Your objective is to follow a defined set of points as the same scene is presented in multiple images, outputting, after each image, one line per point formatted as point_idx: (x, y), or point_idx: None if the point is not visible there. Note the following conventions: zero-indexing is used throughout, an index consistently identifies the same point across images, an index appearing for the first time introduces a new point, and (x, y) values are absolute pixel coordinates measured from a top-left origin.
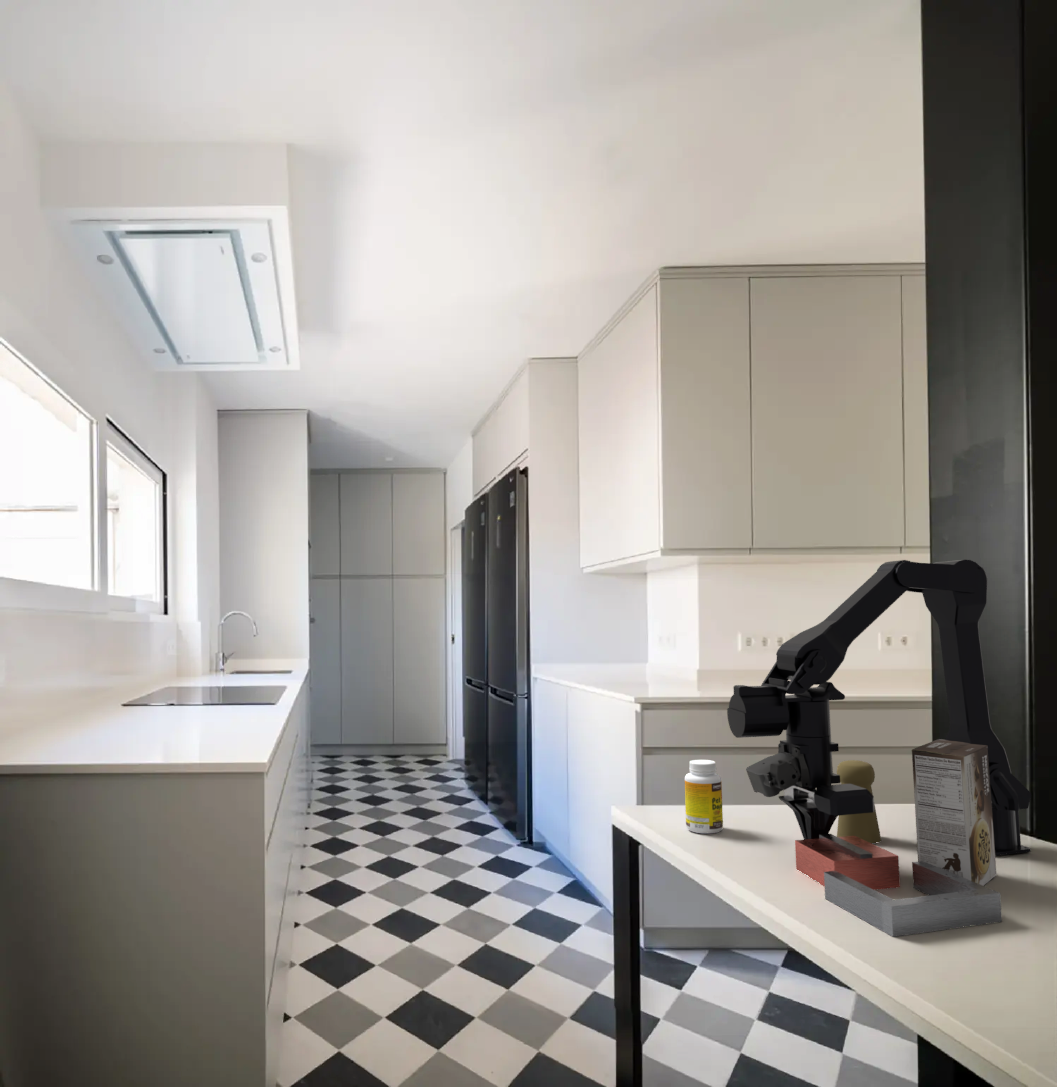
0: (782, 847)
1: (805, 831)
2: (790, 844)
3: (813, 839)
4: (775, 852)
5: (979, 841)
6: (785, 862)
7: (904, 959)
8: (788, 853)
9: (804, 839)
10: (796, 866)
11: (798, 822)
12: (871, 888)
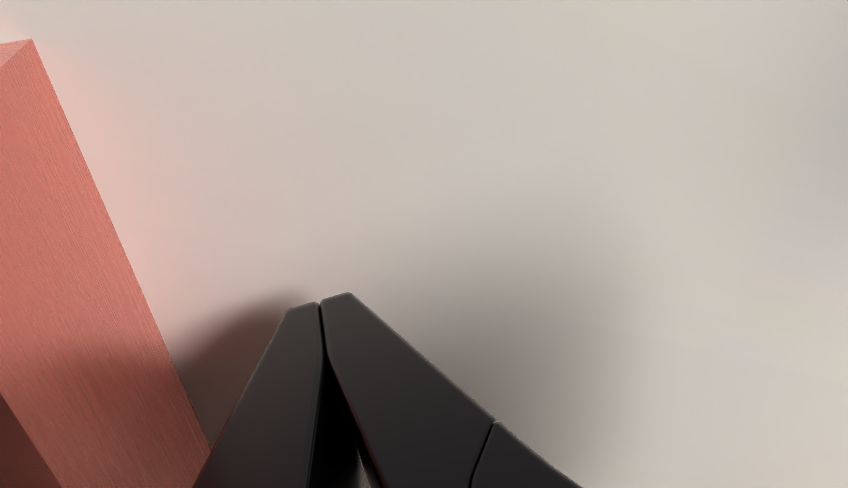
0: (763, 135)
1: (362, 441)
2: (801, 221)
3: (9, 468)
4: (660, 18)
5: None
6: (319, 5)
7: None
8: (596, 135)
9: (393, 347)
10: (7, 50)
11: (522, 464)
12: None
